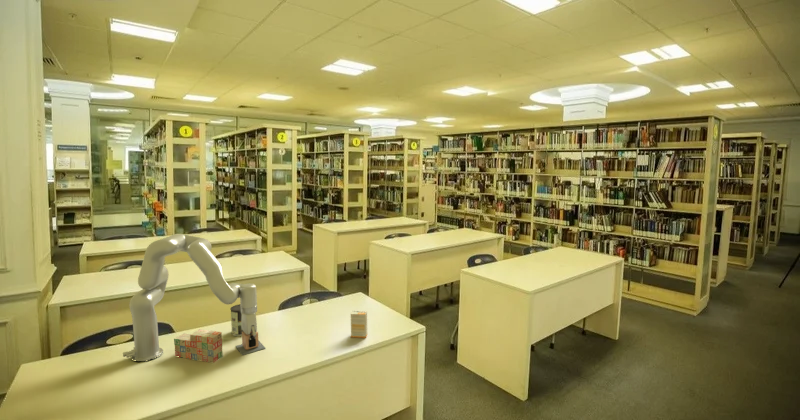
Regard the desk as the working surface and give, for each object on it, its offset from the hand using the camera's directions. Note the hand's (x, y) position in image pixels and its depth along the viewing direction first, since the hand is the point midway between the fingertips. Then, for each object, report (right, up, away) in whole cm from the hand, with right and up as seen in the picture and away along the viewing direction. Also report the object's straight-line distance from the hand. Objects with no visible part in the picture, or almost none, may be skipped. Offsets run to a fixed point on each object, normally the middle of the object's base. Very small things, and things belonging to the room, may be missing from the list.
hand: (250, 343), depth 189 cm
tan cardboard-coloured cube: (0, -1, 0) cm, 1 cm away
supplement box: (+53, -1, +15) cm, 55 cm away
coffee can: (-12, 0, +18) cm, 22 cm away
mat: (0, -2, 0) cm, 2 cm away
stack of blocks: (-21, -3, -9) cm, 23 cm away
